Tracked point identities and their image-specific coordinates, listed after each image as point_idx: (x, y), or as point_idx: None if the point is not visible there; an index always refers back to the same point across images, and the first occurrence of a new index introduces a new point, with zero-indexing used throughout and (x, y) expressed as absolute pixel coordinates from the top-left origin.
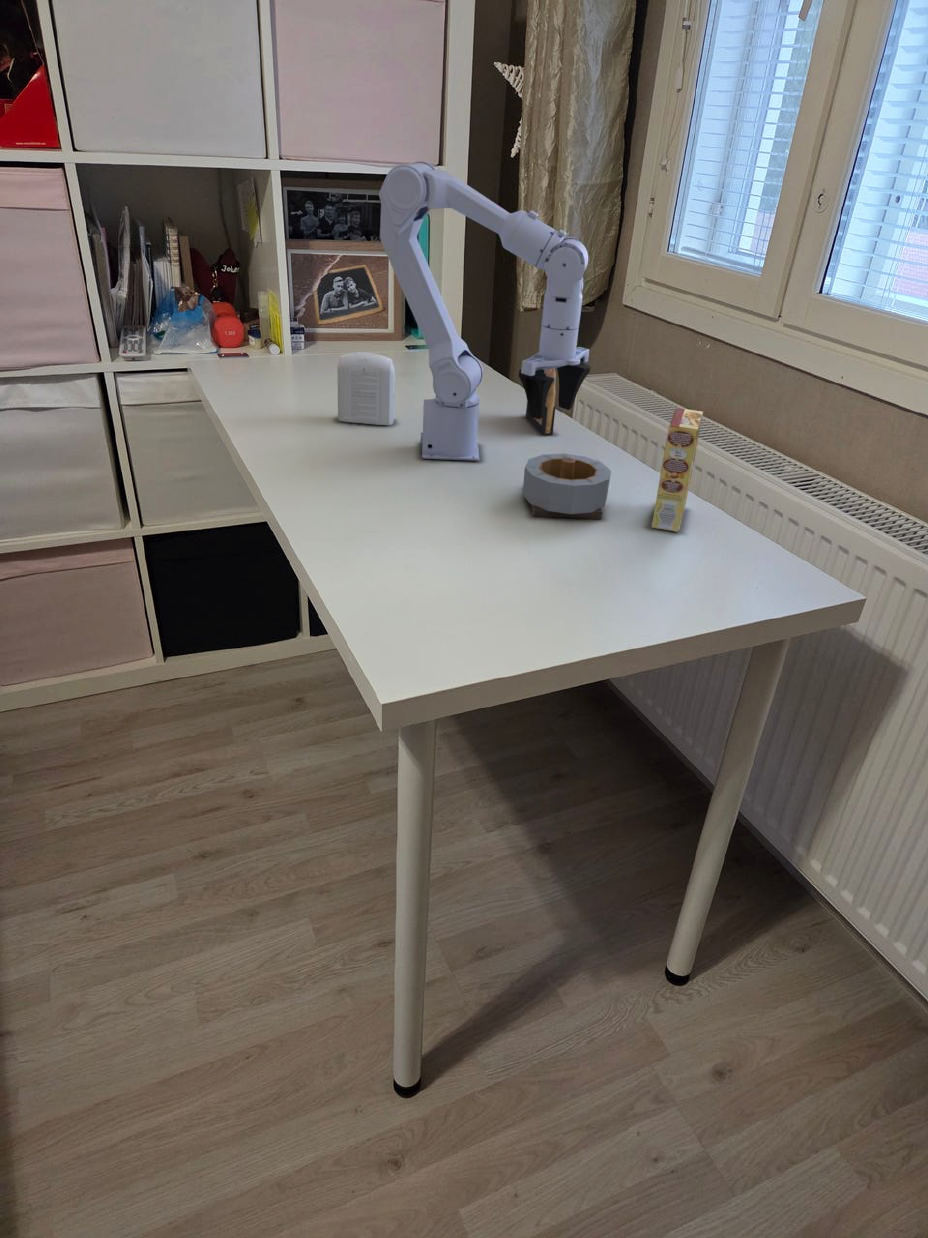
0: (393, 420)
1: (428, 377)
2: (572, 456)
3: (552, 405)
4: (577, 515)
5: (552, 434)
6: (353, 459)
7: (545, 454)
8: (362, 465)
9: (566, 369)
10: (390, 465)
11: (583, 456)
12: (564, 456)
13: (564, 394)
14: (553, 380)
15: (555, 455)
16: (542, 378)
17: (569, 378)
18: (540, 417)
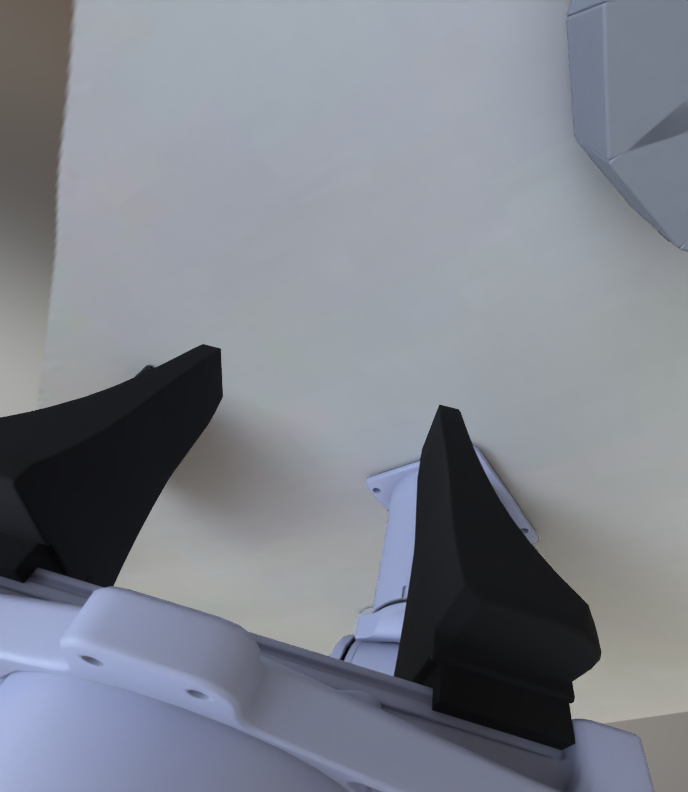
0: (370, 612)
1: None
2: (645, 75)
3: None
4: None
5: (147, 365)
6: (612, 616)
7: (675, 236)
8: (642, 601)
9: (95, 544)
10: (614, 568)
11: (609, 4)
12: (668, 123)
13: (185, 423)
14: (466, 578)
15: (669, 181)
16: (558, 655)
17: (123, 480)
18: (454, 411)
